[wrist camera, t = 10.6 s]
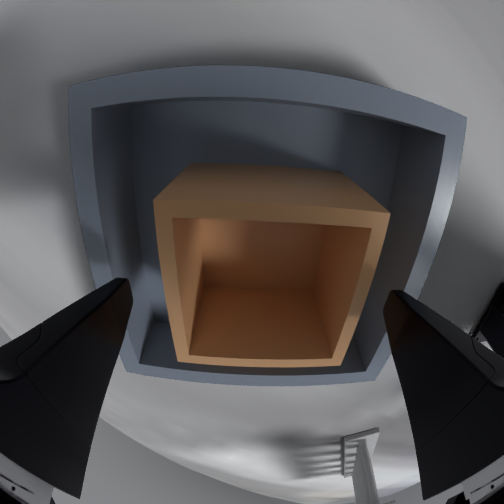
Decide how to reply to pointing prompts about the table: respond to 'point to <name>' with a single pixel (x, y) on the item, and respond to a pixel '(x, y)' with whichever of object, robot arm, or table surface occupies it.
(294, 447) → the table surface
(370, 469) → the test tube rack
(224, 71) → the large crate
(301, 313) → the small crate
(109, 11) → the table surface
